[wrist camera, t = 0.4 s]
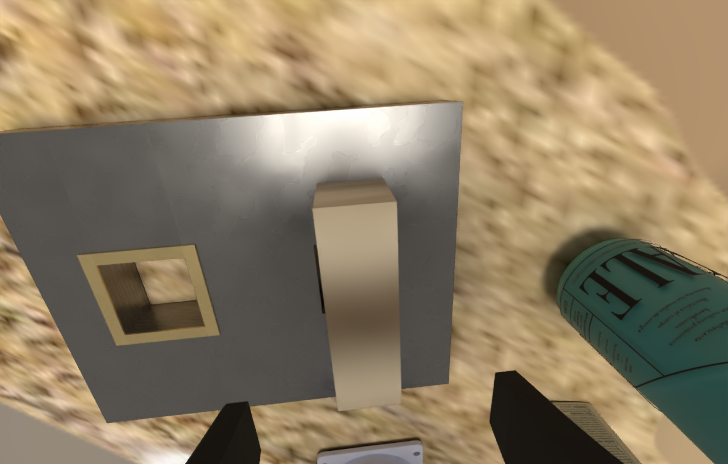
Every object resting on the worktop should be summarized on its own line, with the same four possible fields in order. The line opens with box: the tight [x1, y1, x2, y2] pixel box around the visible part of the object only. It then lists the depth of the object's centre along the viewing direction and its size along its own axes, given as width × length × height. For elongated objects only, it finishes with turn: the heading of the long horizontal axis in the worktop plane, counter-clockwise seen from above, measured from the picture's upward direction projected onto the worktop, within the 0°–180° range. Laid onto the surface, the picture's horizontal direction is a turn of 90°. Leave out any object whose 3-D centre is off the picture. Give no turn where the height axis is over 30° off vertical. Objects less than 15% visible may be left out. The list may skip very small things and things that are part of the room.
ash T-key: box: [312, 178, 402, 411], centre depth 17 cm, size 10×3×6 cm, turn 3°
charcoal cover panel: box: [0, 100, 463, 423], centre depth 18 cm, size 16×20×3 cm
